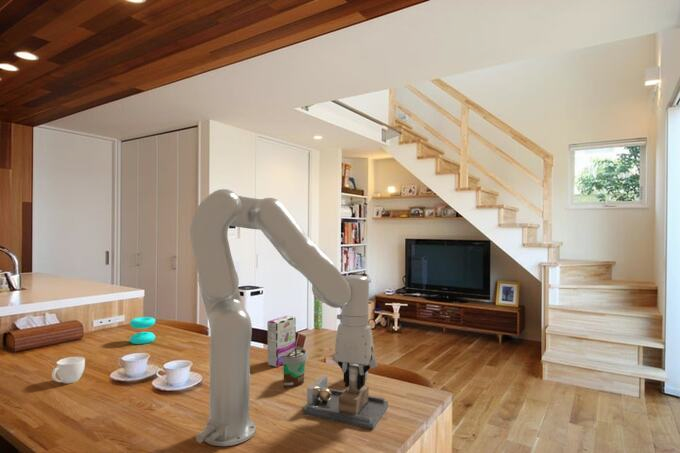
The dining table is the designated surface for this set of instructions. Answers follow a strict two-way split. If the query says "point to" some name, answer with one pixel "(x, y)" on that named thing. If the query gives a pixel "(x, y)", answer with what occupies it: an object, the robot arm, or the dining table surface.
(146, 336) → the donuts
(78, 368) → the cup
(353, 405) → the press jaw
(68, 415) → the dining table surface
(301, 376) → the food container
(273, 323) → the candy bar box
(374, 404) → the grey tray
